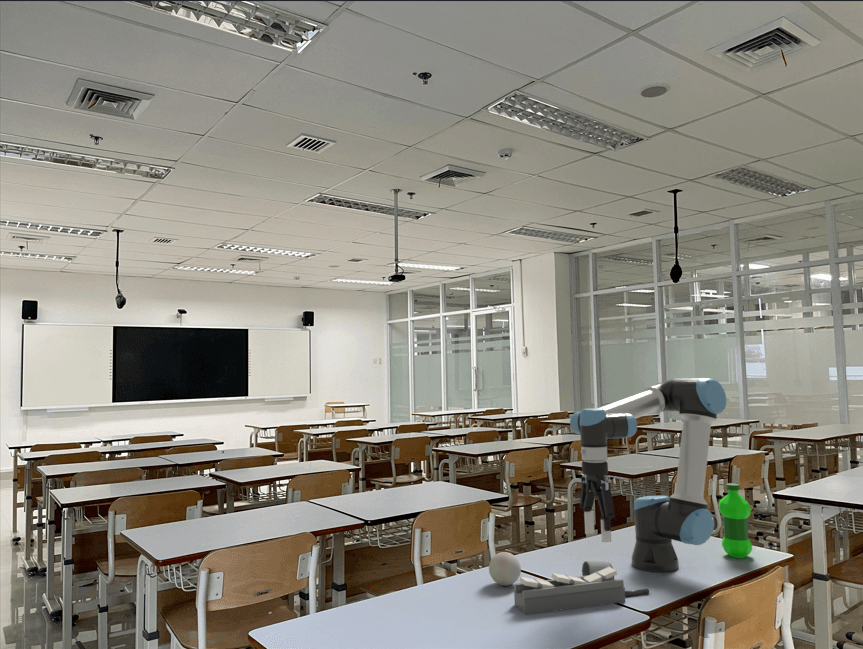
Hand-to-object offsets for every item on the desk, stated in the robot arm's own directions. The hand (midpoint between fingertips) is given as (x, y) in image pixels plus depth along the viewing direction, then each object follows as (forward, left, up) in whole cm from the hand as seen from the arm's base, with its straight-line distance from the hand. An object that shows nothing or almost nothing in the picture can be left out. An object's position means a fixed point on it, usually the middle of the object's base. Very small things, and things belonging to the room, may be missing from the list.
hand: (598, 537), depth 186 cm
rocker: (0, 0, -11) cm, 11 cm away
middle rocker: (+10, 0, -11) cm, 15 cm away
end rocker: (+20, 0, -11) cm, 23 cm away
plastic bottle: (-66, -23, -18) cm, 72 cm away
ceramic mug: (-5, -12, -18) cm, 22 cm away
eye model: (+22, -21, -18) cm, 35 cm away
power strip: (+5, 0, -18) cm, 18 cm away
